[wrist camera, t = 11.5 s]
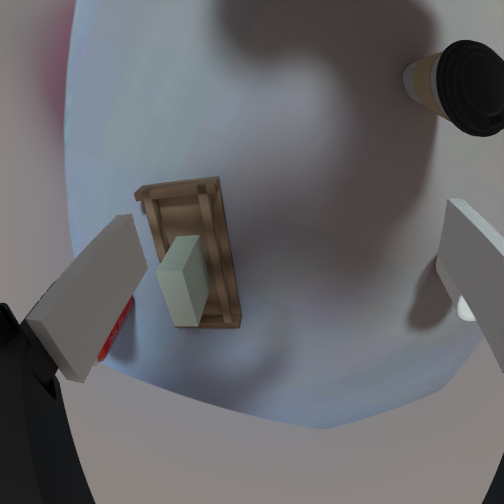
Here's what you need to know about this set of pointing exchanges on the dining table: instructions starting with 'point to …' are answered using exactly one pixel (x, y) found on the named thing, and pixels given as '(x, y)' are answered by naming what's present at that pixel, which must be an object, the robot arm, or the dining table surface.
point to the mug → (454, 292)
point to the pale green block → (184, 280)
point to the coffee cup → (461, 86)
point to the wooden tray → (211, 234)
